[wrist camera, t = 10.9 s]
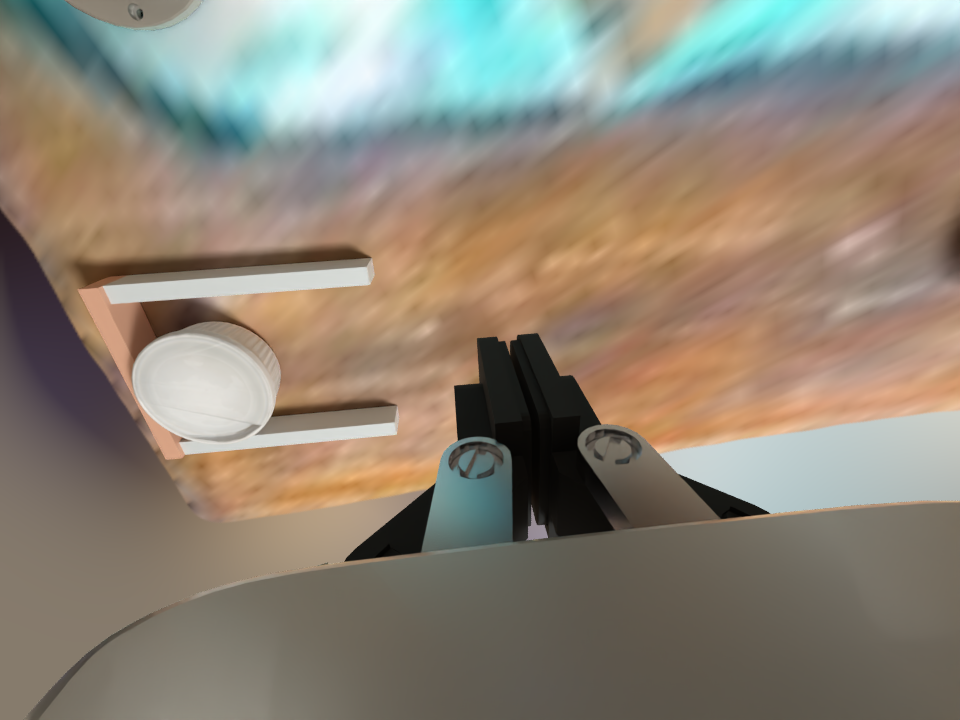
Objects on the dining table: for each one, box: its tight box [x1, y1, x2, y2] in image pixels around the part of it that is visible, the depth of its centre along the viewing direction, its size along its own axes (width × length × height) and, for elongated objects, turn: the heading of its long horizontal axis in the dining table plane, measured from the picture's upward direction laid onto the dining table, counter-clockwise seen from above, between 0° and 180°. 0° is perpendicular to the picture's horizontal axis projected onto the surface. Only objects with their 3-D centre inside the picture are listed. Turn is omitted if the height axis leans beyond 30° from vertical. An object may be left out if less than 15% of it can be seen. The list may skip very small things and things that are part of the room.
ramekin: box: [131, 321, 281, 445], centre depth 38 cm, size 11×11×5 cm
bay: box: [78, 258, 399, 460], centre depth 38 cm, size 17×22×4 cm
